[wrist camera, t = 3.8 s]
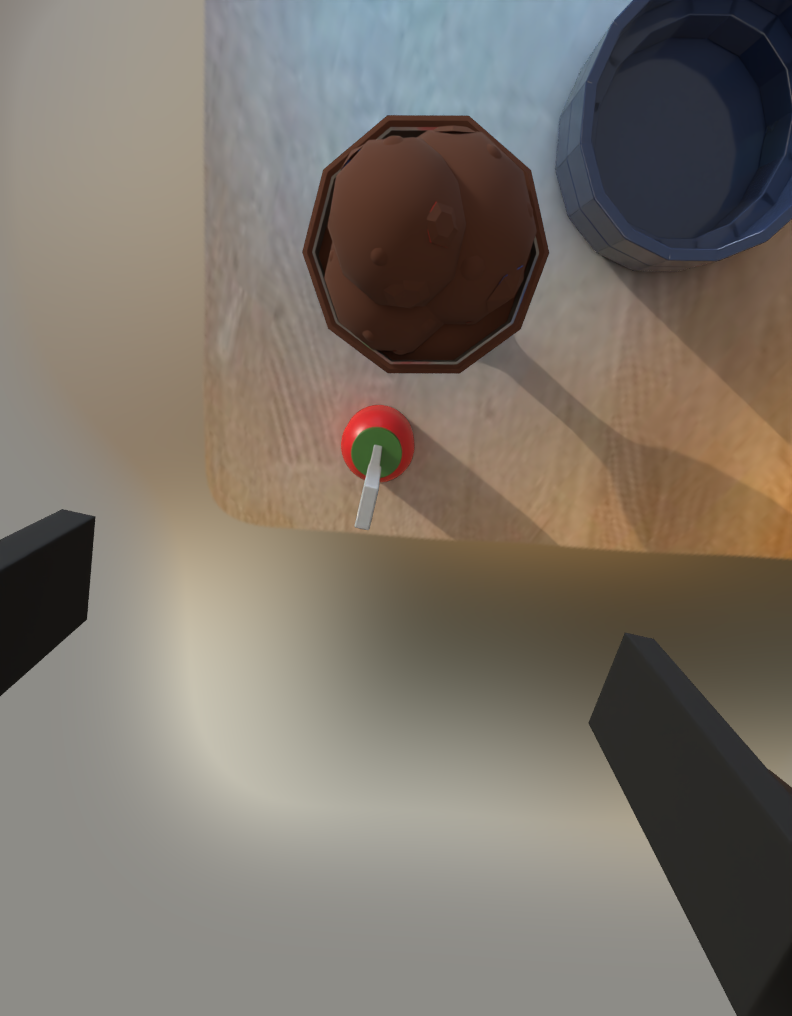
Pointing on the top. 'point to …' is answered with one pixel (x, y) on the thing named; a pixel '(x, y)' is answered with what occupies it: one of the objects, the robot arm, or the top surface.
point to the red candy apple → (376, 452)
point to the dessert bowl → (681, 133)
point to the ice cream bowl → (425, 244)
